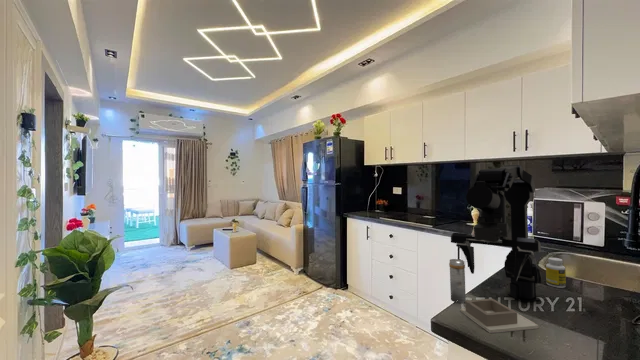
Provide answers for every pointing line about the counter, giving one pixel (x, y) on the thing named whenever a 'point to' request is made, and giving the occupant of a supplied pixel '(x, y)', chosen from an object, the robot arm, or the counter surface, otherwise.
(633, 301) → the counter surface
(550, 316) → the counter surface
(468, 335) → the counter surface
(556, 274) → the supplement bottle
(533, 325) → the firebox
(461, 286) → the grey metal tumbler
